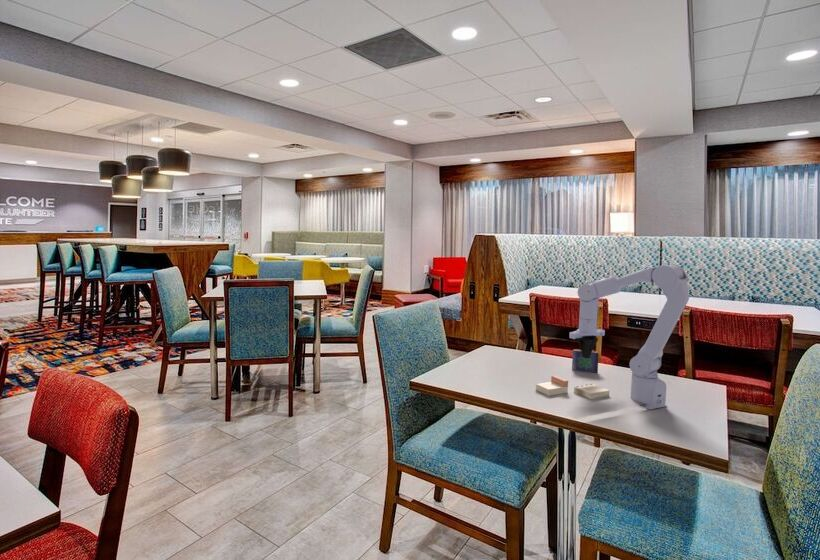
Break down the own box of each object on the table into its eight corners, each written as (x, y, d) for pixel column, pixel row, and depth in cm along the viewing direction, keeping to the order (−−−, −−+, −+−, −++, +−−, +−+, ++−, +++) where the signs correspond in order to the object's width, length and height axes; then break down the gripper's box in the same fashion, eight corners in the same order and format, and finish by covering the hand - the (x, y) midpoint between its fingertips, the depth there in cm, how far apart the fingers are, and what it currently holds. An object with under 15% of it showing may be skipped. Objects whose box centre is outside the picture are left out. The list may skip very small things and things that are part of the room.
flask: (571, 373, 175) (572, 345, 174) (572, 371, 177) (573, 344, 176) (597, 376, 171) (599, 348, 170) (597, 374, 173) (599, 346, 172)
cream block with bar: (567, 392, 149) (568, 380, 148) (548, 395, 145) (548, 383, 145) (554, 386, 154) (555, 375, 154) (535, 389, 151) (536, 378, 150)
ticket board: (616, 399, 146) (616, 390, 146) (568, 408, 138) (568, 398, 138) (578, 384, 161) (578, 376, 160) (533, 391, 152) (533, 382, 152)
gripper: (594, 315, 163) (592, 352, 164) (563, 317, 156) (561, 356, 158) (610, 318, 156) (608, 357, 158) (579, 321, 150) (577, 362, 151)
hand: (585, 357), depth 157 cm, fingers closed
